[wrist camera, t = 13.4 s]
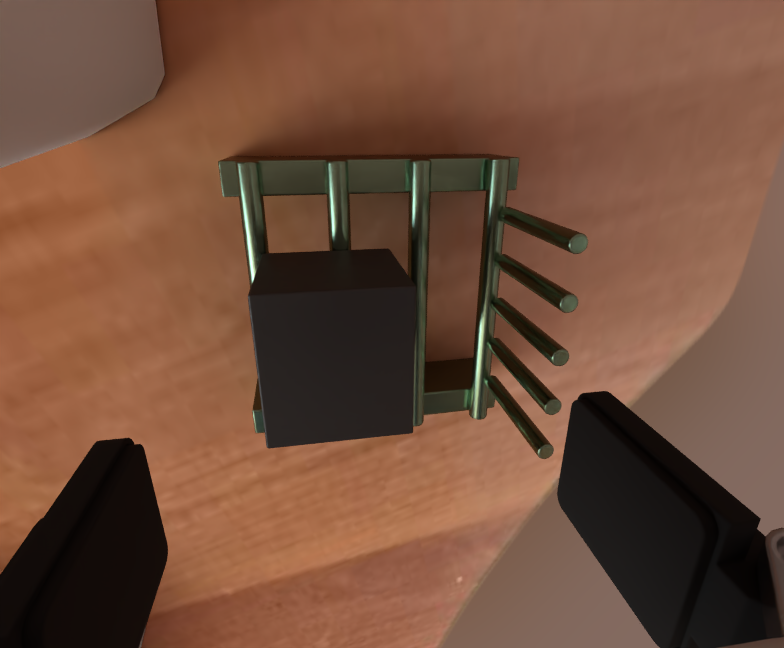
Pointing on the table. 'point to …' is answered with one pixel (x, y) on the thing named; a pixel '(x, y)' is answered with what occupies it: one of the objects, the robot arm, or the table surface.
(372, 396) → the box
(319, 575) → the table surface
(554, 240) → the rack
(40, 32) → the cup
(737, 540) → the robot arm
